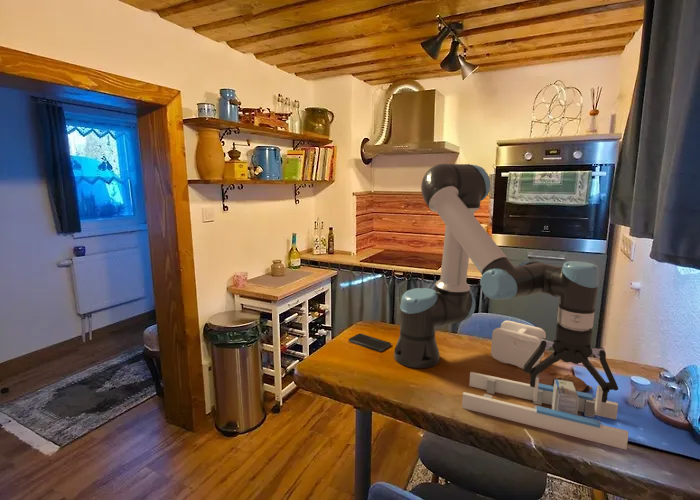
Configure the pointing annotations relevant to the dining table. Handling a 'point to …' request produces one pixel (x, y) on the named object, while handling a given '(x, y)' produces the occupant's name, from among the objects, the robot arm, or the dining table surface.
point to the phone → (370, 342)
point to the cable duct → (545, 410)
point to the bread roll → (576, 383)
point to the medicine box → (565, 397)
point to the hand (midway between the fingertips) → (565, 405)
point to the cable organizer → (516, 343)
